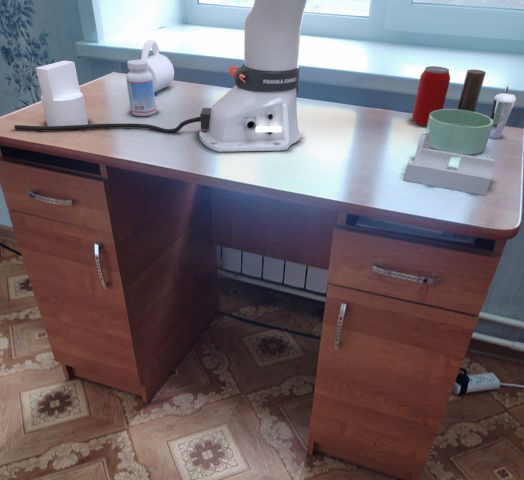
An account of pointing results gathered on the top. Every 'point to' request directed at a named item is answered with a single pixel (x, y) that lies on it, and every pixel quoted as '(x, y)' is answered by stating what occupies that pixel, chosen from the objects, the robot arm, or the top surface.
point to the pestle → (471, 90)
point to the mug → (158, 66)
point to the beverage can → (430, 93)
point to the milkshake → (501, 112)
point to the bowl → (459, 130)
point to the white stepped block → (61, 94)
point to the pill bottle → (140, 88)
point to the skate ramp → (437, 173)
